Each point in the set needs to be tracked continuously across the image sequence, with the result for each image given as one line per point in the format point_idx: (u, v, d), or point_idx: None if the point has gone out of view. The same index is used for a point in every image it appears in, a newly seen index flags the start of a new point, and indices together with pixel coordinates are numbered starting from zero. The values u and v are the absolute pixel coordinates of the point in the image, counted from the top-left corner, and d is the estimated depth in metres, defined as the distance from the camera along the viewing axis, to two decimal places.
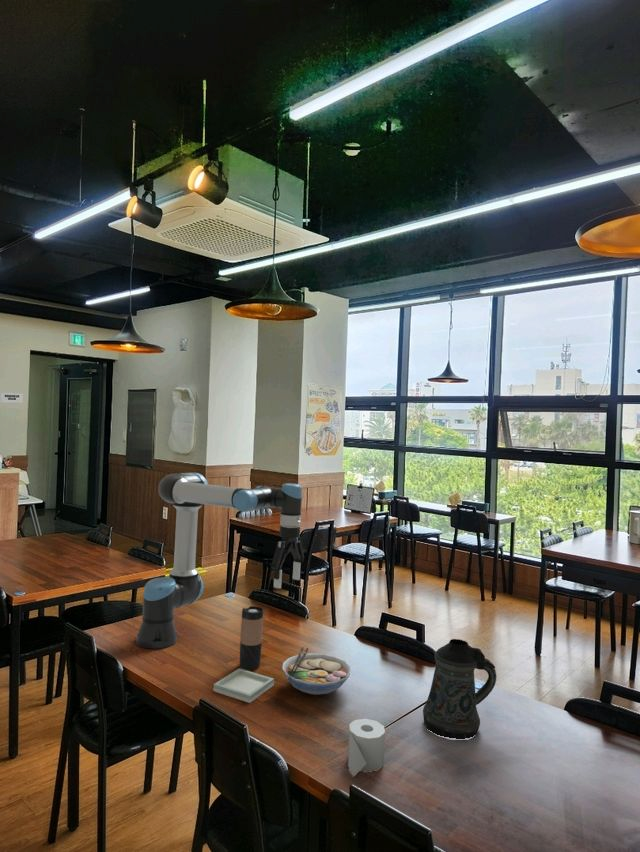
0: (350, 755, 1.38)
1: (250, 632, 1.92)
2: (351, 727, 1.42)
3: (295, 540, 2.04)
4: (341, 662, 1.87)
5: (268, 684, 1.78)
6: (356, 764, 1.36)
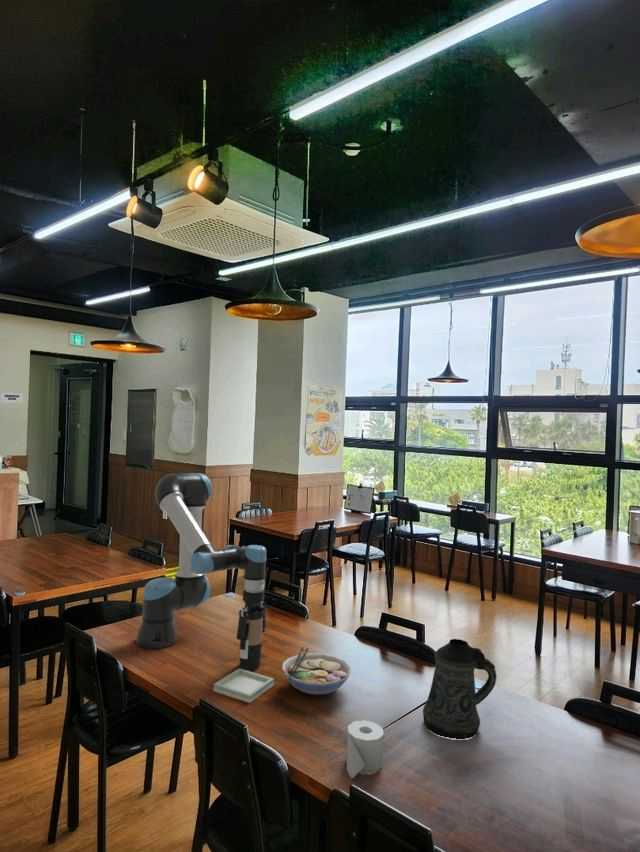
0: (348, 757, 1.37)
1: (250, 632, 1.92)
2: (349, 729, 1.41)
3: (259, 603, 1.97)
4: (341, 662, 1.87)
5: (268, 684, 1.78)
6: (354, 766, 1.35)
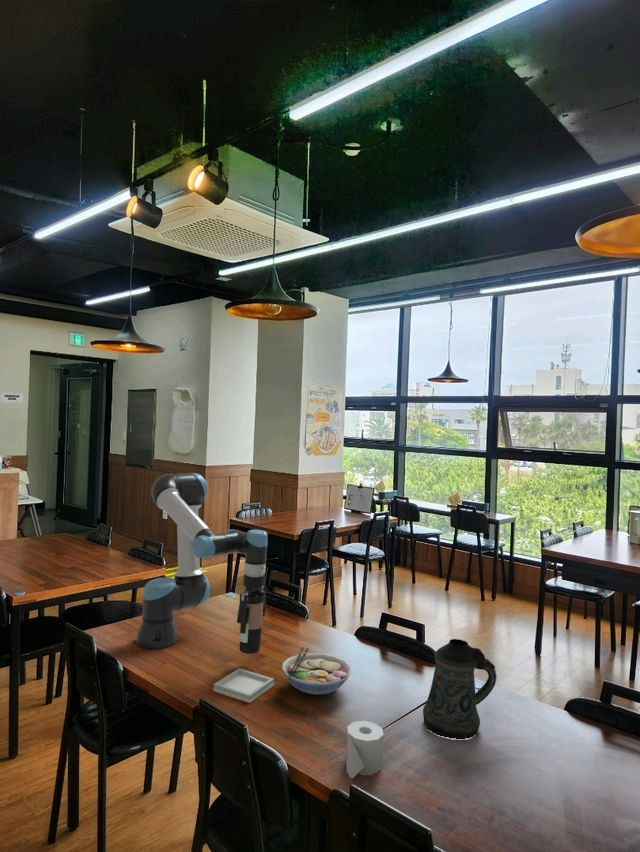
0: (348, 757, 1.37)
1: (251, 616, 1.92)
2: (349, 729, 1.41)
3: (260, 588, 1.98)
4: (341, 662, 1.87)
5: (268, 684, 1.78)
6: (354, 767, 1.35)
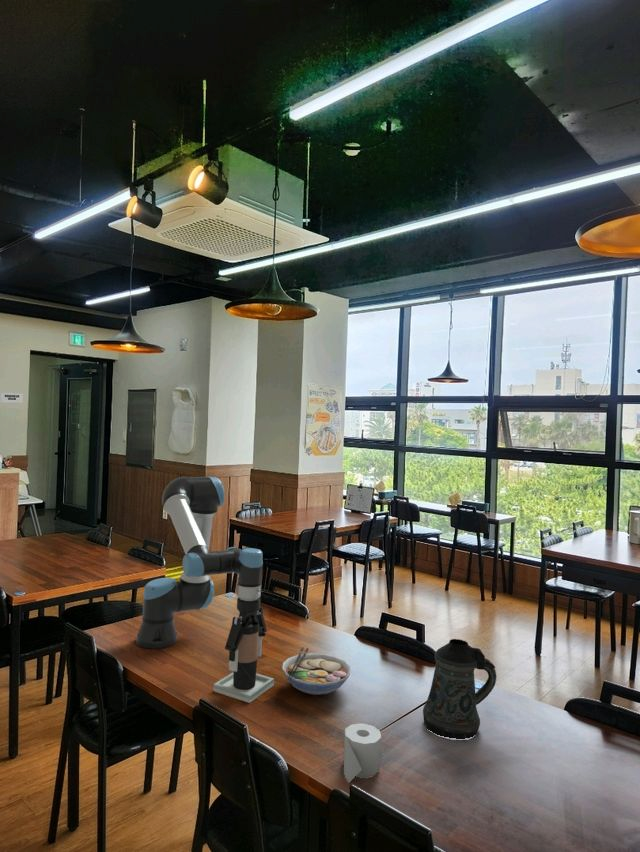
0: (345, 761, 1.36)
1: (245, 648, 1.75)
2: (347, 732, 1.40)
3: (255, 613, 1.80)
4: (341, 662, 1.87)
5: (268, 684, 1.78)
6: (351, 770, 1.33)
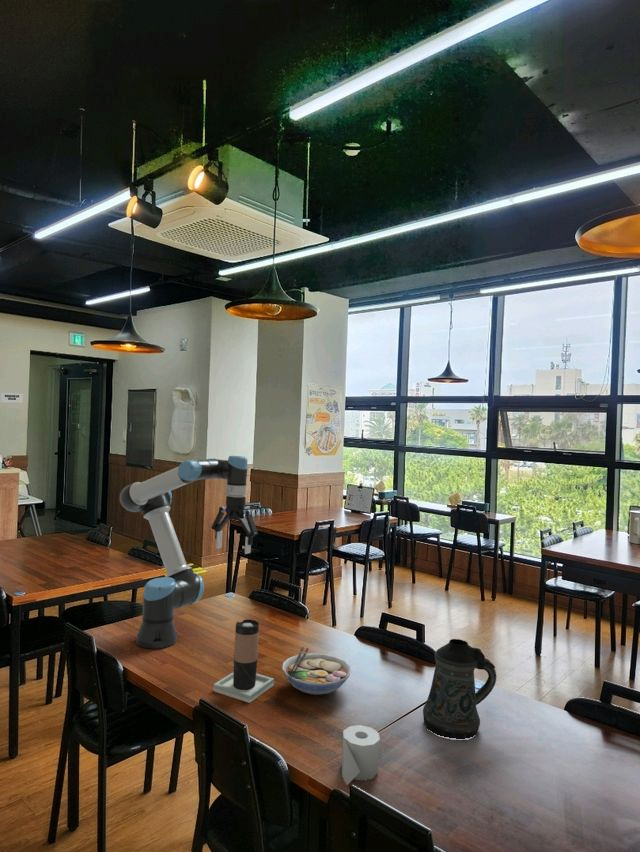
0: (344, 763, 1.35)
1: (245, 648, 1.75)
2: (345, 734, 1.39)
3: (239, 511, 2.10)
4: (341, 662, 1.87)
5: (268, 684, 1.78)
6: (349, 772, 1.33)
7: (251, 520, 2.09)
